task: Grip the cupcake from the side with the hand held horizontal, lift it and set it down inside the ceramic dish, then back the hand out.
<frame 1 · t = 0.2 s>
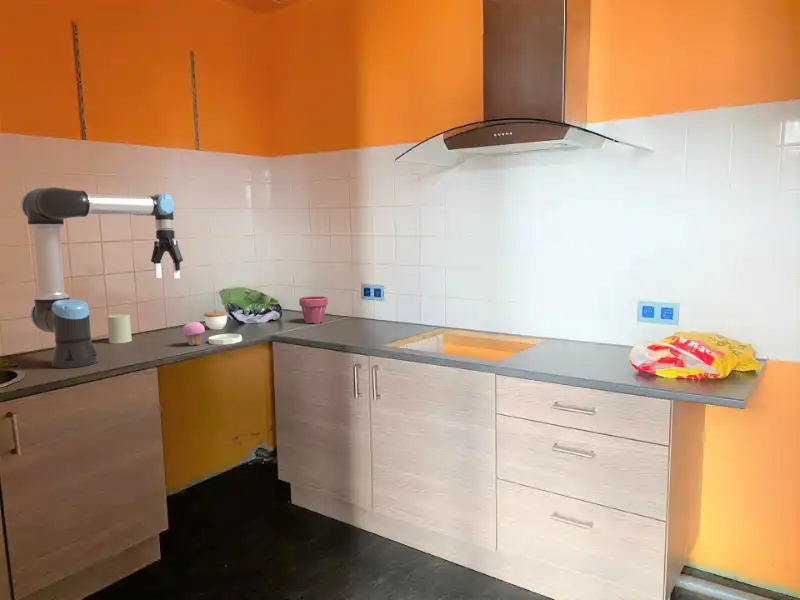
hand: (167, 278, 265), 27 cm above the worktop, fingers open, 13 cm apart
lidded jar: (216, 328, 292), on the worktop
can: (120, 341, 264), on the worktop
cupcake: (194, 345, 254), on the worktop
plant pot: (314, 322, 306), on the worktop
dish: (225, 341, 260), on the worktop
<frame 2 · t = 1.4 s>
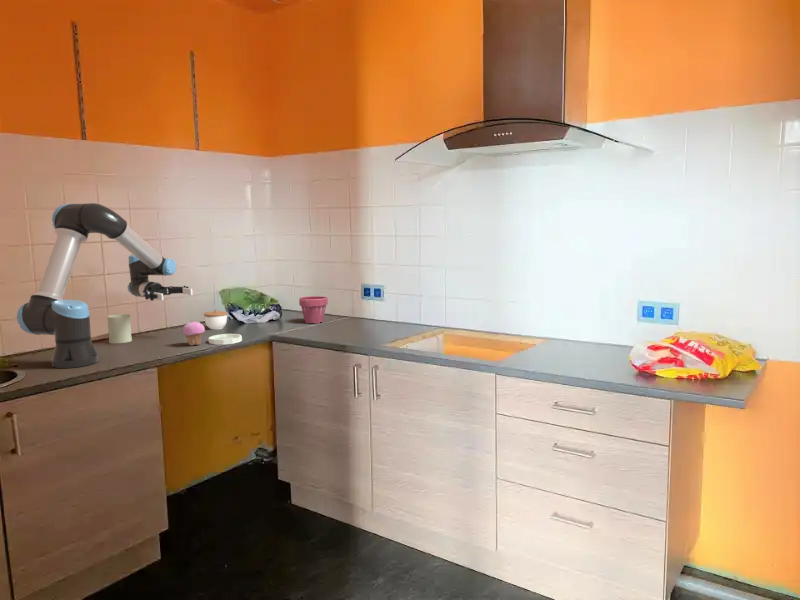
hand: (177, 294, 256), 21 cm above the worktop, fingers open, 13 cm apart
nothing on the worktop moved.
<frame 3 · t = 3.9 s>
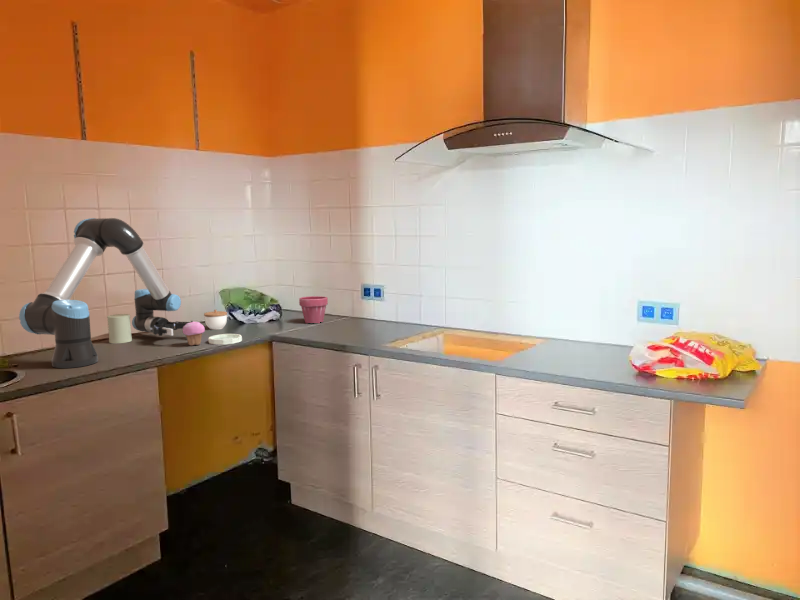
hand: (186, 329, 257), 6 cm above the worktop, fingers open, 13 cm apart
nothing on the worktop moved.
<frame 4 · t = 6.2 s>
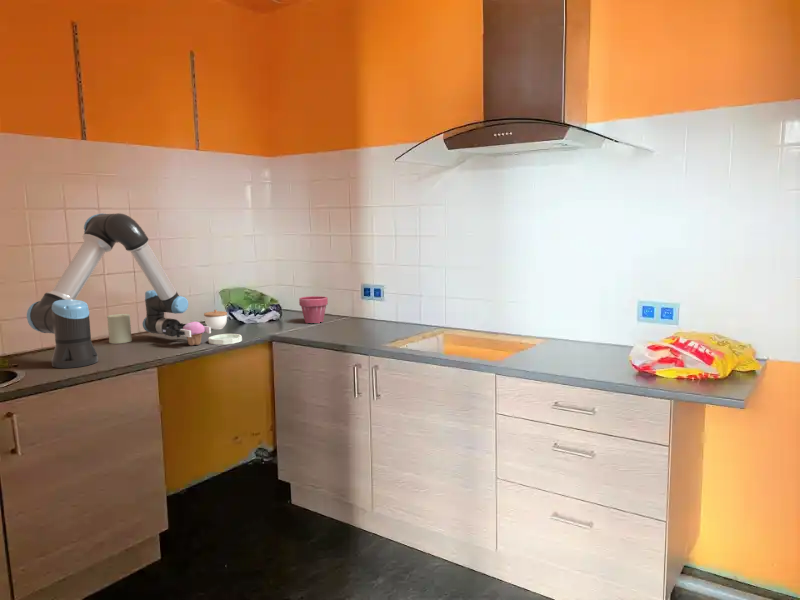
hand: (200, 332, 250), 6 cm above the worktop, fingers closed on cupcake, 9 cm apart
cupcake: (194, 345, 254), on the worktop, touching gripper
everything else where it was.
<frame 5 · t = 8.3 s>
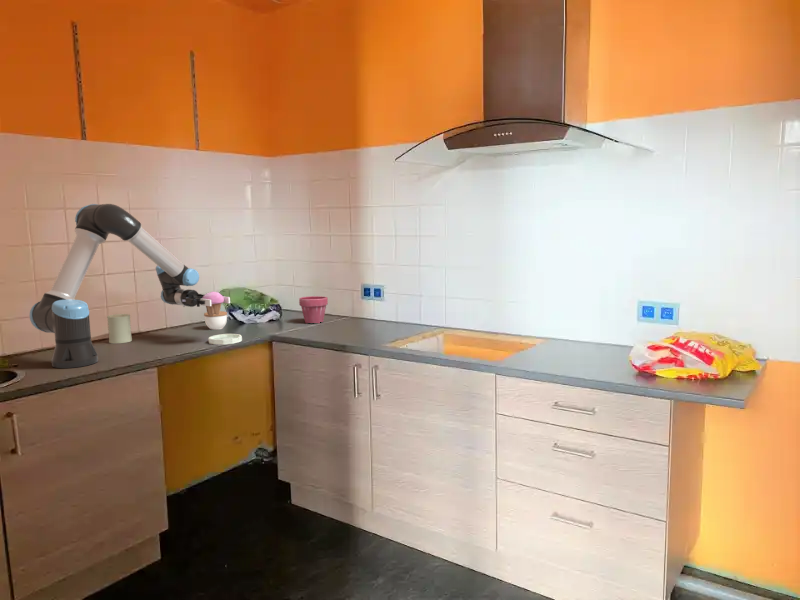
hand: (220, 301, 254), 18 cm above the worktop, fingers closed on cupcake, 9 cm apart
cupcake: (213, 315, 257), point 12 cm above the worktop, touching gripper
everything else where it was.
when the fingers open (8 cm above the worktop, at t = 10.9 s): cupcake drops 2 cm, resting on dish.
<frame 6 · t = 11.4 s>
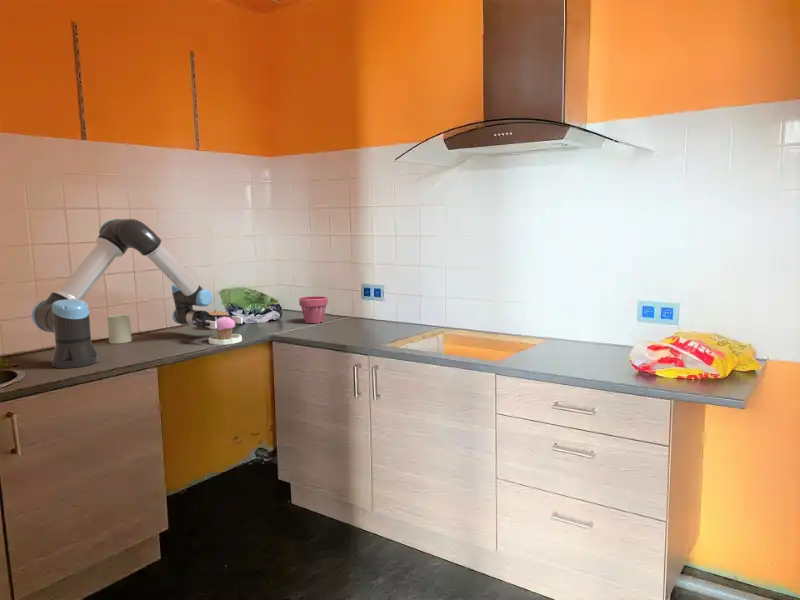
hand: (229, 322, 257), 8 cm above the worktop, fingers open, 13 cm apart
cupcake: (225, 339, 260), point 1 cm above the worktop, touching dish
everything else where it was.
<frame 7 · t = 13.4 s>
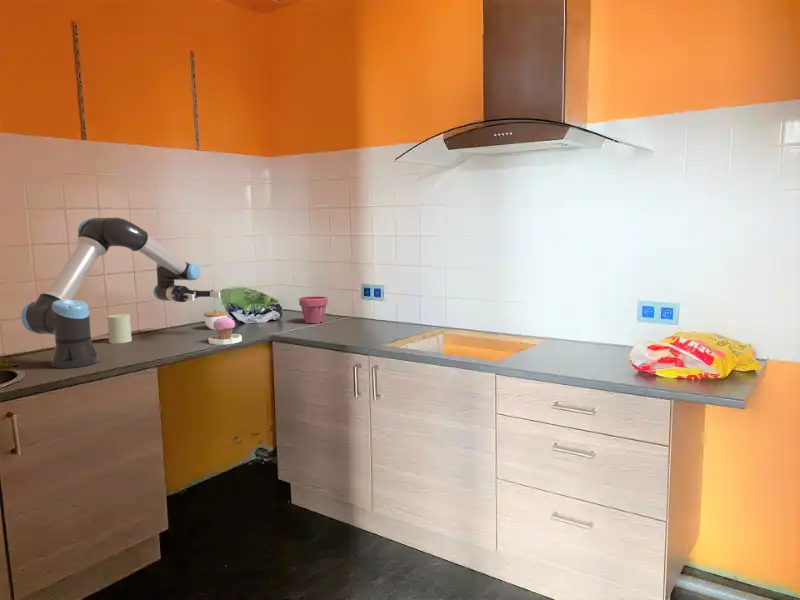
hand: (206, 296, 265), 19 cm above the worktop, fingers open, 13 cm apart
nothing on the worktop moved.
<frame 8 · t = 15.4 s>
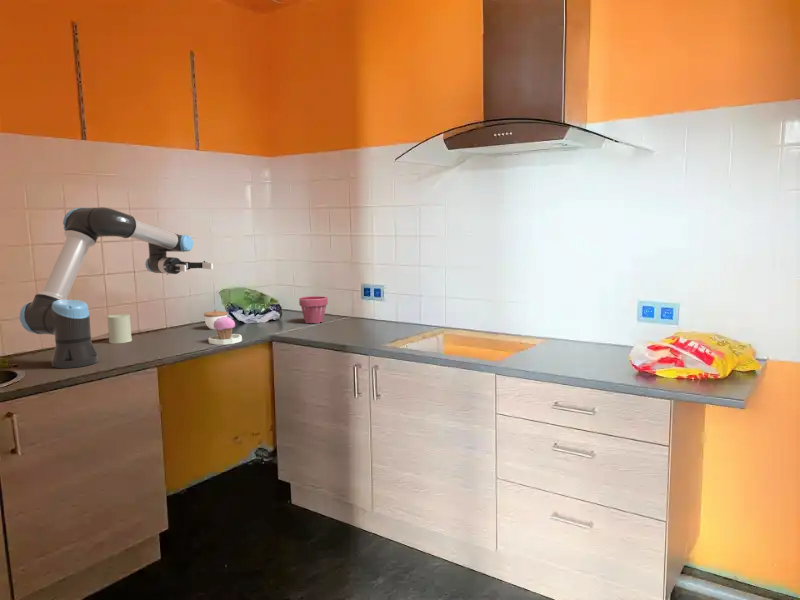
hand: (199, 267, 262), 32 cm above the worktop, fingers open, 13 cm apart
nothing on the worktop moved.
at the end: cupcake 0.1 cm from the dish (horizontally); cupcake tilted 0°; the gripper is holding nothing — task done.
